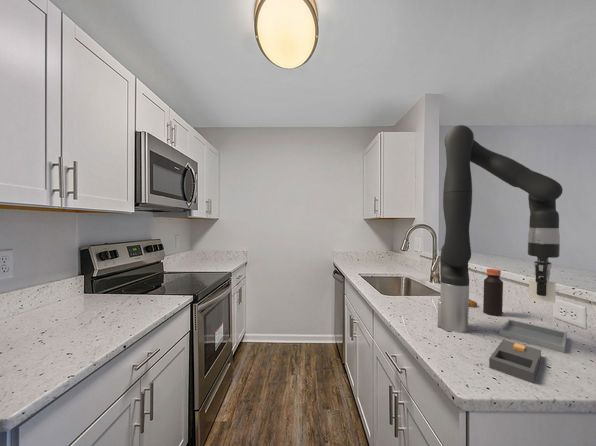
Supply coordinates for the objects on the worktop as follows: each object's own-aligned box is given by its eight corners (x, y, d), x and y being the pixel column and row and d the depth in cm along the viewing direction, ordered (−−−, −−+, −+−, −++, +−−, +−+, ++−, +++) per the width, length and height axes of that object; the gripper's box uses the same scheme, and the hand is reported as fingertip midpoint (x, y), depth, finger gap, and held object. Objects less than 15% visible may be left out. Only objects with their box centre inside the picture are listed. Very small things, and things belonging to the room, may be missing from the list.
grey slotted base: (489, 367, 71) (489, 355, 71) (502, 347, 83) (503, 336, 83) (533, 383, 65) (533, 369, 64) (541, 358, 77) (541, 347, 77)
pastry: (476, 305, 128) (477, 297, 127) (477, 309, 122) (477, 301, 122) (454, 301, 133) (454, 294, 133) (454, 305, 127) (454, 297, 127)
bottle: (481, 314, 114) (482, 269, 114) (485, 311, 119) (486, 267, 118) (500, 318, 109) (501, 271, 109) (503, 315, 113) (505, 269, 113)
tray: (499, 336, 91) (499, 329, 91) (508, 325, 102) (508, 319, 102) (564, 354, 79) (564, 346, 79) (566, 339, 90) (566, 332, 90)
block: (528, 298, 85) (529, 280, 85) (530, 296, 88) (531, 278, 88) (554, 303, 81) (555, 284, 81) (555, 300, 84) (555, 282, 84)
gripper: (530, 240, 92) (529, 288, 92) (525, 241, 82) (523, 295, 82) (560, 242, 86) (559, 292, 87) (558, 243, 77) (557, 301, 77)
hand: (542, 293), depth 84 cm, fingers closed on block, 4 cm apart
